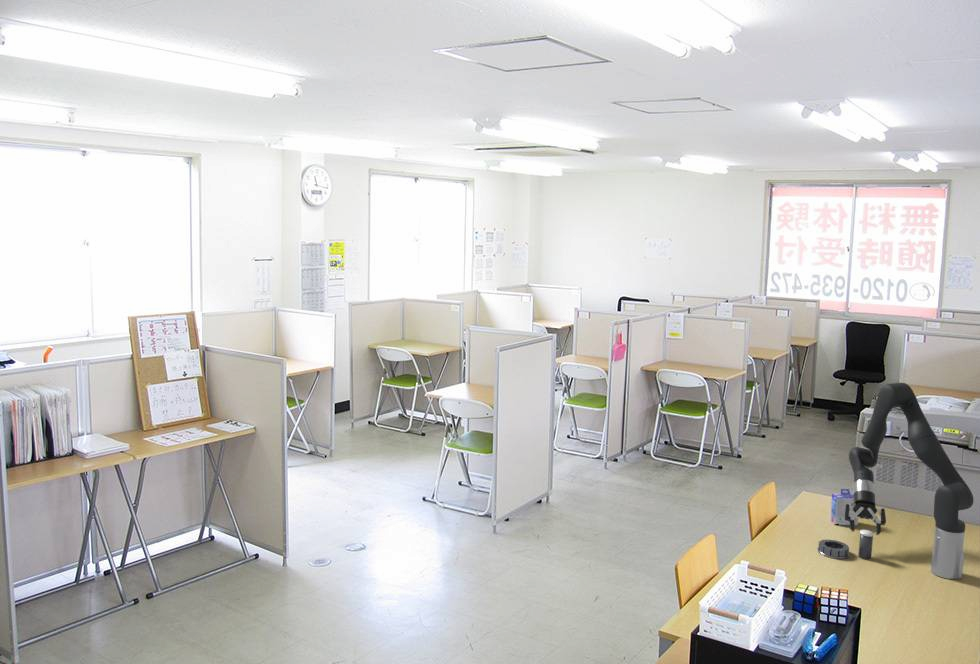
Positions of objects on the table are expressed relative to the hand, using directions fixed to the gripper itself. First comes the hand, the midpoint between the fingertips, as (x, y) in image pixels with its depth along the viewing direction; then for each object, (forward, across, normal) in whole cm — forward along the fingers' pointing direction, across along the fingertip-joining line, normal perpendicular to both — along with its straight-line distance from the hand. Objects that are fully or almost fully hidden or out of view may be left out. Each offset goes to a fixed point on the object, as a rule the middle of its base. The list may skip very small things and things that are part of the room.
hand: (865, 532), depth 297 cm
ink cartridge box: (-16, -4, +28) cm, 33 cm away
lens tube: (+8, 0, +4) cm, 9 cm away
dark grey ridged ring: (+8, -11, +4) cm, 14 cm away
